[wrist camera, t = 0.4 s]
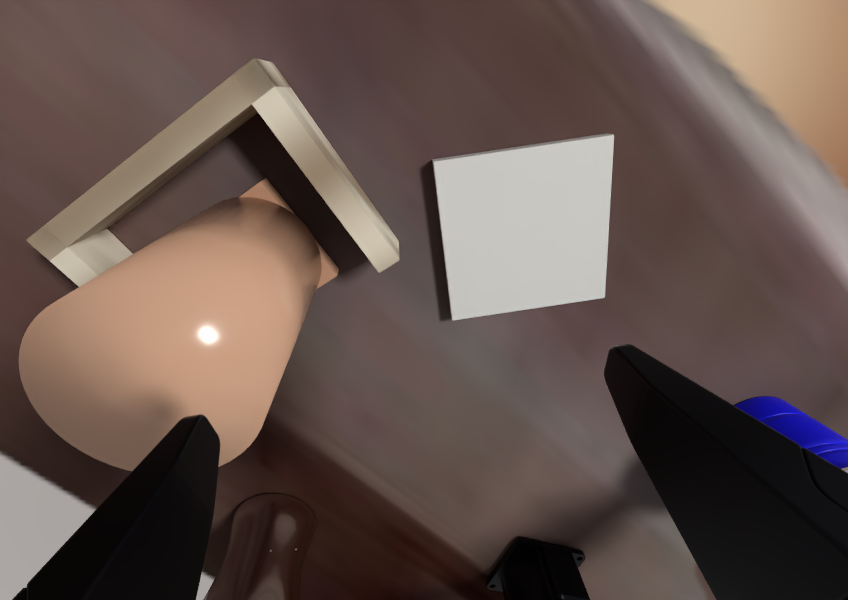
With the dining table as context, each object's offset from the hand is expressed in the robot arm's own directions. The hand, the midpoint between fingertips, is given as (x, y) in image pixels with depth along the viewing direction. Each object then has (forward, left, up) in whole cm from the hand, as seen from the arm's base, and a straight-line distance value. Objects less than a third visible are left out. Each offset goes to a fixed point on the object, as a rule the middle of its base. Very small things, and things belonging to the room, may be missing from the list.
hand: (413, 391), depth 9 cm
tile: (+2, -6, -15) cm, 16 cm away
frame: (-4, +8, -15) cm, 17 cm away
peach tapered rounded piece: (-5, +6, -15) cm, 17 cm away
